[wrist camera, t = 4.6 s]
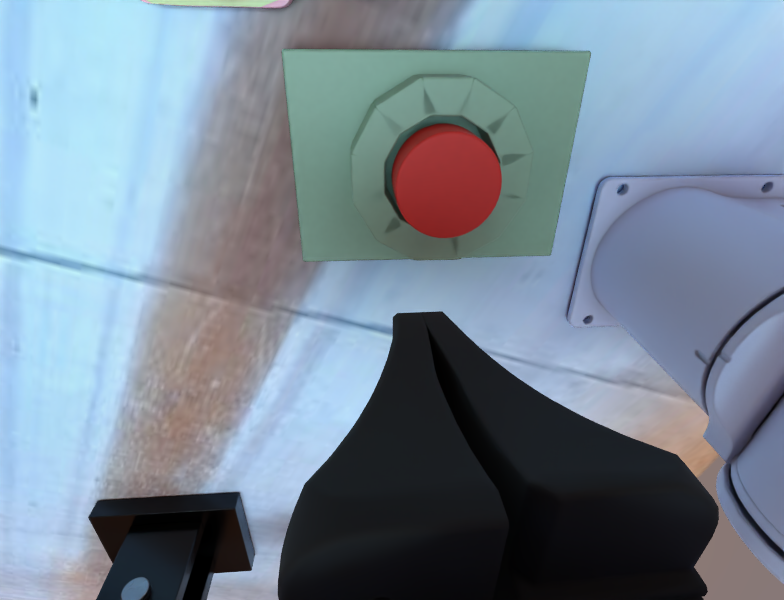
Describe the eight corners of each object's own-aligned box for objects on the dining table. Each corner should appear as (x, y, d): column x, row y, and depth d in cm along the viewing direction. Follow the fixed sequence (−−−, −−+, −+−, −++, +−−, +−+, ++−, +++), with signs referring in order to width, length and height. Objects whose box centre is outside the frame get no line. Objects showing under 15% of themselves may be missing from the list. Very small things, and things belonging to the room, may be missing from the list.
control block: (567, 50, 18) (618, 51, 14) (534, 238, 22) (568, 274, 18) (289, 49, 17) (272, 49, 14) (307, 243, 21) (298, 281, 17)
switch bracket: (239, 492, 29) (207, 615, 23) (255, 554, 33) (230, 676, 26) (97, 500, 29) (24, 628, 22) (128, 562, 32) (72, 689, 26)
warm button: (494, 122, 15) (509, 130, 14) (483, 221, 17) (495, 238, 16) (391, 123, 15) (395, 131, 14) (391, 223, 17) (394, 240, 15)
